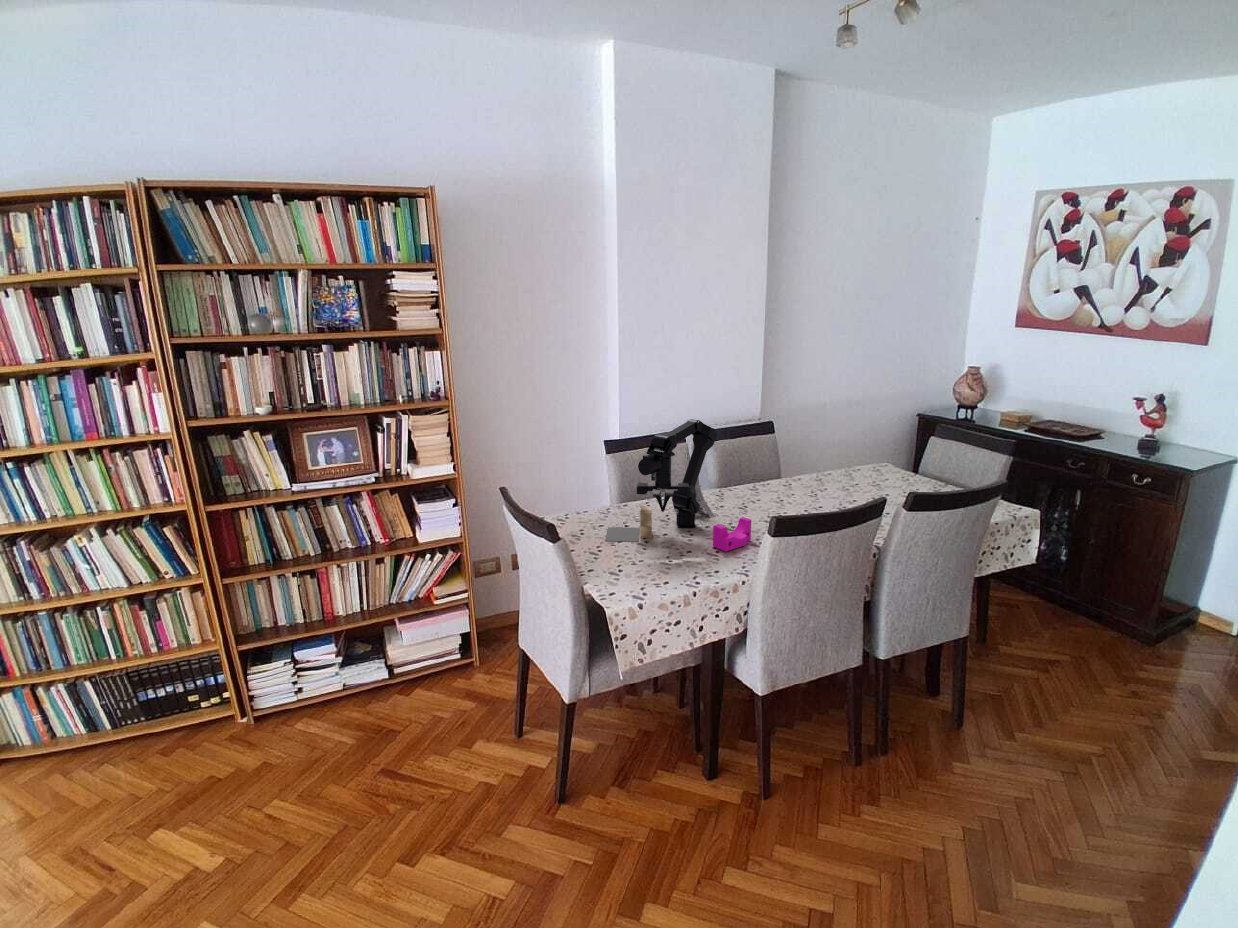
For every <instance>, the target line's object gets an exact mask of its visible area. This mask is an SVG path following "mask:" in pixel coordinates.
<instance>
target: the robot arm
mask: <svg viewBox="0 0 1238 928" xmlns="http://www.w3.org/2000/svg"><path fill="white" fill-rule="evenodd" d="M690 436H692V445H693V444H694V449H693V451H692V453H691V456H690V459H689V461H688V464H687V468H686V471H685V472H684V476H683V479H682V482H678V483H677V484H676V485H672V457H674V456H676V454H675V452H674V450H675V449H676V448H677V446H678V443H679V442H681V441H683V440H684V439H686V438H688V437H690ZM717 437H718V432H717V431H716V429H715V428H714V427H711V426H710V425H707V424H705V423H703V422H702V421H701V420H699V419H693V418H691V419H688V420H686V422H684V423H682V424H680V425H679V426H677V427H676V428H674V429H672V430H670V431H666V432H660V433H656V434H654V436H653V438H652V440H651V441H650V444H649V446H648V449H647V451H646V454H645V455H642V459H640V460H639V462H638V464H637V467H638V471H639V473H640V474H641V475H643V476H649V475H650V480H651V481H652V482H654V485H649V483H648V482H638V483H637V484H636V494H637V495H647V493H648V492H652V497H655V499H656V501H657V503H658V505H659V508H660V511H661V512H662V513H664V512H665V510H666V507H667V506H668V505H667V504H668V502H669V501H670V499H671V501H672V506H673V509H678V511H676V518H675V519H676V520H675V521H676V523H675V524H676V525H677V528H679V529H680V528H681V529H696V513H697V514H698V512H699V511H700V509H701V508H700V504H699V503H698V502H697V501H696V490H695V485H696V482H697V479H698V477H700V473H701V469H702V467H703V464H704V461H705V457H706V455H707V453H708V451H709V450H710V449H711V448H712V447H713V446H714V444H715V442H716V440H717ZM662 492H664V497H662ZM662 499H663V500H662Z"/></svg>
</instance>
